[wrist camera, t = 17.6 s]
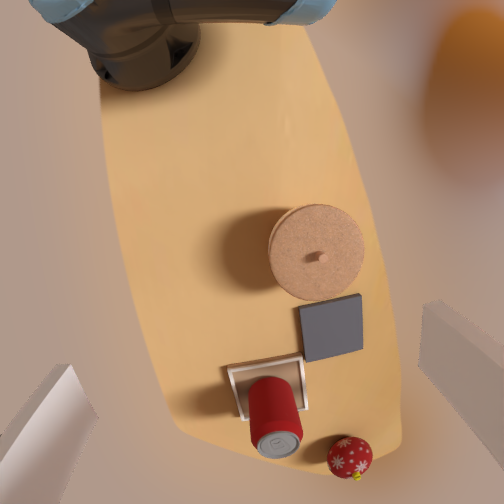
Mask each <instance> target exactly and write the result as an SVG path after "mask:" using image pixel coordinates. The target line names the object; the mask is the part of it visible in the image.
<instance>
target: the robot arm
mask: <svg viewBox="0 0 504 504" xmlns="http://www.w3.org/2000/svg"><path fill="white" fill-rule="evenodd" d="M336 1H337V0H29V2H30V4H31V5H32V6H33V8H35V9H36V10H37V11H38V12H39V13H40V14H41V15H42V17H43V18H44V20H45V21H46V22H48V23H51V24H52V25H54V26H55V27H56V28H58V29H59V30H61V31H62V32H64V33H65V34H66V35H68V36H69V37H71V38H72V39H73V40H75V41H76V42H78V43H79V44H80V45H82V46H83V47H85V48H86V49H87V51H88V54H89V58H90V61H91V64H92V66H93V68H94V70H95V71H96V73H97V74H98V75H99V76H100V77H101V78H102V79H103V80H104V81H106V82H107V83H109V84H110V85H112V86H114V87H116V88H119V89H122V90H127V91H141V90H147V89H151V88H154V87H157V86H160V85H162V84H164V83H166V82H168V81H169V80H171V79H172V78H174V77H175V76H177V75H178V74H179V73H180V72H181V71H182V70H184V69H185V67H186V66H187V65H188V64H189V63H190V61H191V60H192V58H193V57H194V55H195V53H196V51H197V49H198V46H199V42H200V26H199V23H260V24H264V25H266V26H274V25H277V24H286V25H310V24H313V23H315V22H316V21H318V20H320V19H322V18H323V17H324V16H326V15H327V14H328V12H329V11H330V10H331V9H332V7H333V6H334V5H335V3H336ZM418 367H419V368H420V369H421V370H422V371H423V372H424V373H425V375H426V376H427V377H428V378H429V379H430V380H431V382H432V383H433V384H434V385H435V386H436V387H437V389H438V390H439V391H440V392H441V393H442V394H443V396H444V397H445V398H446V399H447V400H448V402H449V403H450V404H451V405H452V406H453V407H454V409H455V410H456V411H457V412H458V414H459V415H460V416H461V417H462V418H463V420H464V421H465V422H466V423H467V424H468V426H469V427H470V428H471V429H472V431H473V432H474V433H475V434H476V436H477V437H478V438H479V439H480V441H481V442H482V443H483V445H484V446H485V447H486V448H487V449H488V451H489V452H490V453H491V455H492V456H493V457H494V458H495V460H496V461H497V462H498V464H499V465H500V466H501V468H502V469H503V470H504V346H503V345H502V344H501V343H500V342H498V341H497V340H495V339H494V338H493V337H492V336H490V335H489V334H487V333H486V332H485V331H483V330H482V329H481V328H479V327H478V326H476V325H475V324H474V323H472V322H471V321H469V320H468V319H467V318H465V317H464V316H462V315H461V314H460V313H458V312H457V311H455V310H454V309H452V308H451V307H450V306H448V305H447V304H445V303H444V302H442V301H440V300H437V301H433V302H430V303H427V304H424V305H423V315H422V331H421V343H420V353H419V363H418ZM97 420H98V416H97V414H96V412H95V411H94V409H93V407H92V405H91V403H90V401H89V400H88V398H87V396H86V394H85V392H84V390H83V388H82V386H81V384H80V382H79V380H78V378H77V376H76V374H75V372H74V370H73V368H72V366H71V364H61V365H56V366H55V367H54V368H53V369H52V371H51V372H50V373H49V374H48V375H47V377H46V378H45V379H44V380H43V381H42V383H41V384H40V385H39V386H38V388H37V389H36V390H35V391H34V393H33V394H32V395H31V397H30V398H29V399H28V401H27V402H26V403H25V404H24V406H23V407H22V408H21V410H20V411H19V412H18V413H17V415H16V416H15V417H14V419H13V420H12V421H11V423H10V424H9V425H8V427H7V428H6V430H5V431H4V432H3V433H2V434H1V435H0V504H59V503H60V500H61V498H62V496H63V493H64V491H65V489H66V486H67V484H68V482H69V479H70V477H71V475H72V473H73V471H74V468H75V466H76V464H77V462H78V460H79V457H80V455H81V453H82V451H83V449H84V447H85V444H86V443H87V440H88V438H89V436H90V434H91V432H92V430H93V428H94V426H95V424H96V422H97Z"/></svg>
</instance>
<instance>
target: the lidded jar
mask: <svg viewBox="0 0 504 504" xmlns="http://www.w3.org/2000/svg"><path fill="white" fill-rule="evenodd" d="M268 255H269V262H270V267H271V270H272V273H273V275H274V277H275V279H276V281H277V282H278V284H279V285H280V286H281V287H282V288H283V289H284V290H285V291H286V292H287V293H289V294H291V295H292V296H294V297H297V298H299V299H303V300H307V301H320V300H325V299H329V298H332V297H334V296H336V295H338V294H340V293H341V292H343V291H344V290H345V289H347V288H348V287H349V286H350V285H351V284H352V282H353V281H354V280H355V278H356V277H357V275H358V273H359V271H360V269H361V266H362V264H363V259H364V240H363V237H362V233H361V231H360V229H359V227H358V225H357V224H356V222H355V221H354V220H353V219H352V218H351V217H350V216H349V215H348V214H347V213H345V212H344V211H342V210H340V209H338V208H336V207H333V206H330V205H323V204H307V205H301V206H298V207H296V208H293V209H292V210H290V211H288V212H287V213H285V214H284V215H283V216H282V217H281V218H280V219H279V220H278V222H277V223H276V224H275V226H274V228H273V230H272V232H271V235H270V239H269V246H268Z"/></svg>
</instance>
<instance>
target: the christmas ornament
mask: <svg viewBox="0 0 504 504" xmlns="http://www.w3.org/2000/svg"><path fill="white" fill-rule="evenodd" d="M372 456H373V455H372V450H371V447H370V446H369V444H368V443H367V442H366V441H364V440H363V439H361V438H357V437H347V438H344V439H341V440H339V441H338V442H336V443H335V444H334V445H333V446H332V447H331V449H330V450H329V452H328V456H327V464H328V467H329V469H330V471H331V472H332V473H333V474H334V475H336V476H338V477H340V478H345V479H350V478H354V480H359V479H360V478H361V477H360V475H361V474H363V473H364V472H365V471H366V470H367V469H368V468H369V466H370V464H371V462H372ZM359 477H360V478H359ZM357 478H358V479H357Z"/></svg>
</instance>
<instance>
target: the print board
mask: <svg viewBox="0 0 504 504" xmlns="http://www.w3.org/2000/svg"><path fill="white" fill-rule="evenodd" d="M227 371H228V374H229V378H230V382H231V385H232V389H233V392H234V396H235V400H236V403H237V406H238V410H239V413H240V417H241V420H242V421H248V420H249V402H248V392H249V389H250V387H251V386H252V385H253V384H254V383H255V382H256V381H258V380H260V379H263V378H266V377H278V378H281V379H284V380H285V381H287V382H288V383H289V384H290V386H291V388H292V391H293V395H294V399H295V402H296V406H297V410H298V412H299V411H304V410H308V400H307V391H306V382H305V374H304V365H303V357H302V354H301V352H297V353H292V354H287V355H282V356H277V357H272V358H266V359H261V360H255V361H249V362H243V363H236V364H230V365H227Z"/></svg>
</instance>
